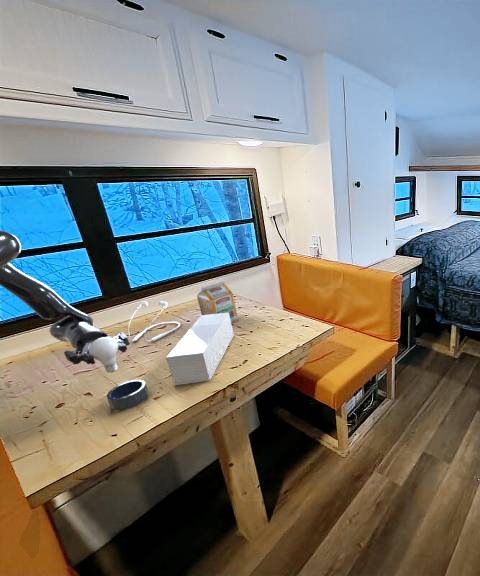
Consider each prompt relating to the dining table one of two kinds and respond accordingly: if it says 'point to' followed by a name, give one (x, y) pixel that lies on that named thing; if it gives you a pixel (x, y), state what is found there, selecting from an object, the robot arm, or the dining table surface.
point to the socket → (127, 395)
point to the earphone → (151, 322)
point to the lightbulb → (105, 352)
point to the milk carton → (217, 300)
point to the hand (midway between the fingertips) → (108, 354)
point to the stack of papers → (201, 349)
